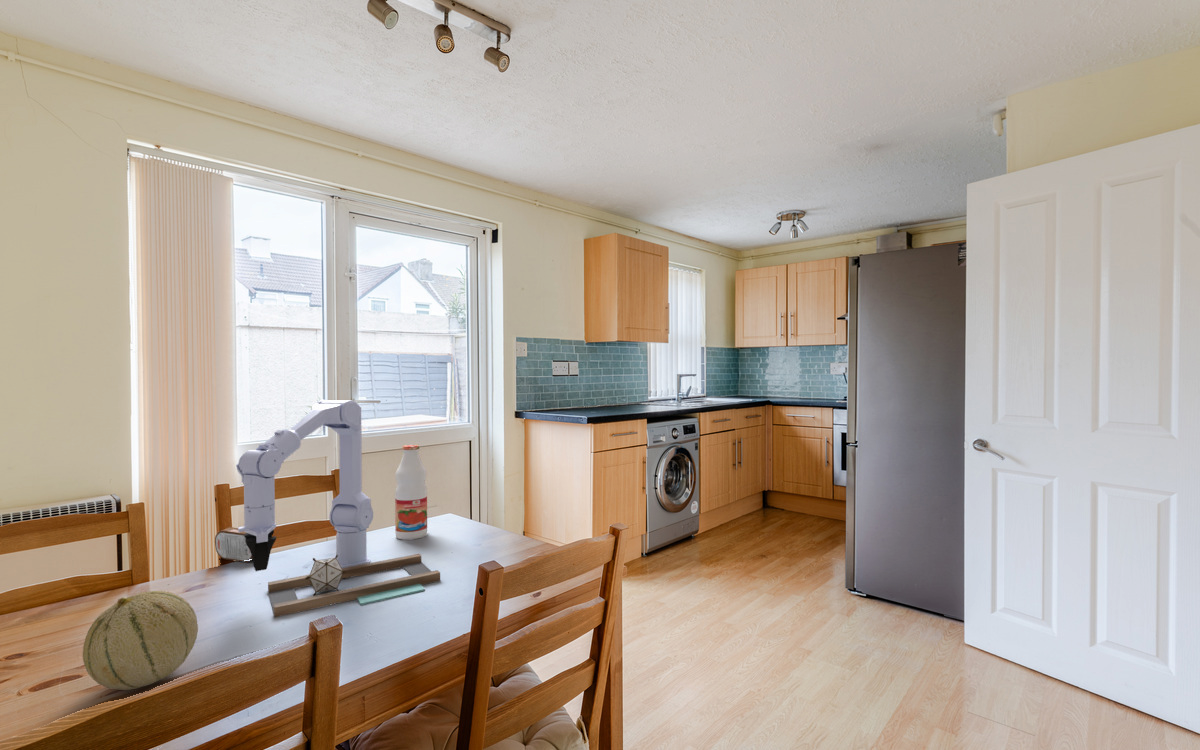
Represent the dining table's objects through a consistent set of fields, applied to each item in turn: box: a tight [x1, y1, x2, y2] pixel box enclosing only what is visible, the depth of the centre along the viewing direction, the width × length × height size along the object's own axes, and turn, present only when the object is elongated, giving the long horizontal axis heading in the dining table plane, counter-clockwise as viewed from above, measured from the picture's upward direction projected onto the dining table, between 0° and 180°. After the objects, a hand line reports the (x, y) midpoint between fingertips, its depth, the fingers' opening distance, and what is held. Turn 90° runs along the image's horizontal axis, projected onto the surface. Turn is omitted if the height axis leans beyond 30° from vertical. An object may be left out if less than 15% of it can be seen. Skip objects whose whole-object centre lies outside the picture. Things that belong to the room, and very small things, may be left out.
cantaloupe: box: [82, 590, 199, 691], centre depth 92 cm, size 15×15×15 cm
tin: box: [214, 526, 252, 563], centre depth 152 cm, size 15×3×8 cm, turn 71°
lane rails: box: [267, 553, 441, 618], centre depth 133 cm, size 17×35×2 cm, turn 125°
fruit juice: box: [394, 444, 428, 541], centre depth 173 cm, size 9×9×28 cm
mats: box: [268, 561, 432, 613], centre depth 133 cm, size 13×35×1 cm, turn 125°
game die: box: [305, 554, 346, 596], centre depth 130 cm, size 9×8×10 cm
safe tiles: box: [356, 584, 426, 606], centre depth 137 cm, size 25×14×1 cm, turn 35°
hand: (260, 567), depth 122 cm, fingers open, 3 cm apart
